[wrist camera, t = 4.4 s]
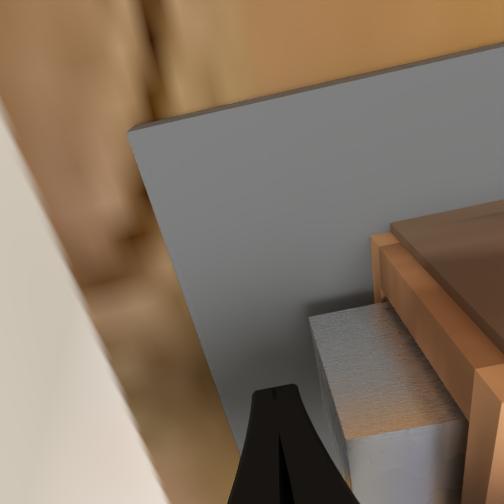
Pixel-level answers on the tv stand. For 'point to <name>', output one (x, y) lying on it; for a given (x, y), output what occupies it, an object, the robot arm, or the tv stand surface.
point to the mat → (311, 205)
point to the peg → (388, 409)
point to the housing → (455, 320)
